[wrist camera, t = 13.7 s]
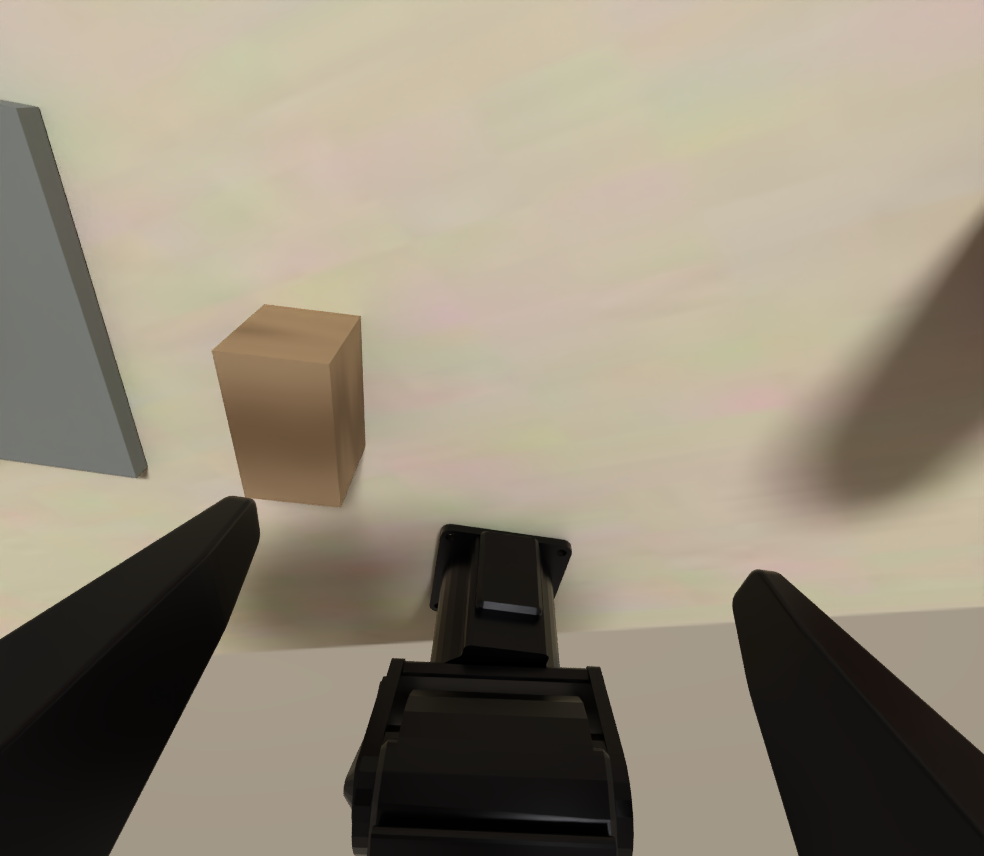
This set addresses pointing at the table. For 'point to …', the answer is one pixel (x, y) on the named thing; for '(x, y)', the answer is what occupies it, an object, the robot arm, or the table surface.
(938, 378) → the table surface
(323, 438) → the walnut block
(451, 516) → the table surface
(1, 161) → the grey mat
